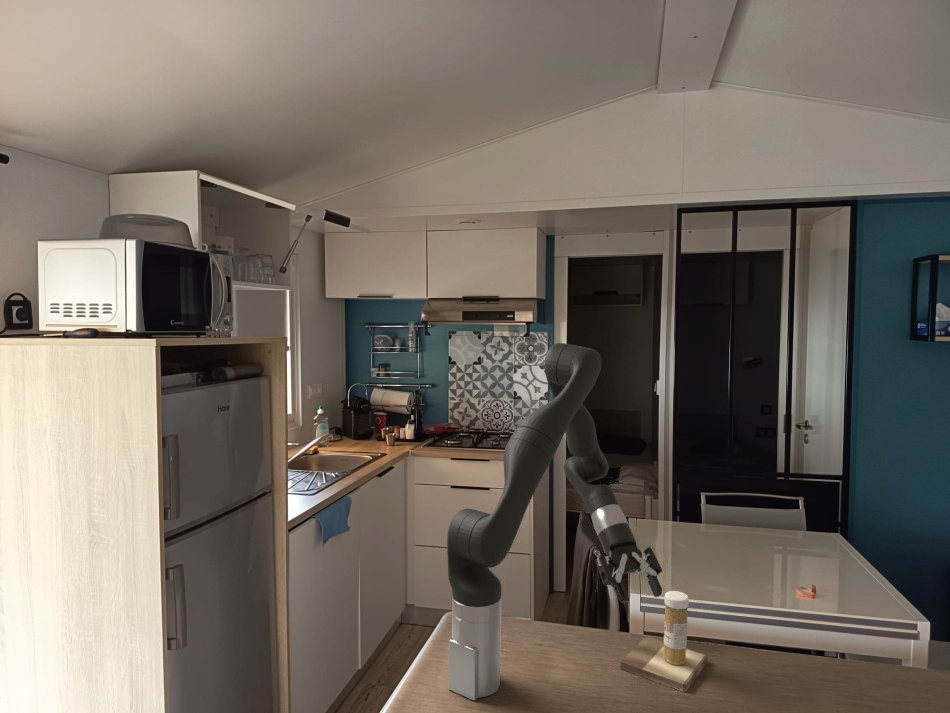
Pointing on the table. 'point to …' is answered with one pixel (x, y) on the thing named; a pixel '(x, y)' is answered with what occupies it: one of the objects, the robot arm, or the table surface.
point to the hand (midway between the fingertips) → (642, 598)
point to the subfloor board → (663, 665)
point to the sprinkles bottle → (675, 627)
